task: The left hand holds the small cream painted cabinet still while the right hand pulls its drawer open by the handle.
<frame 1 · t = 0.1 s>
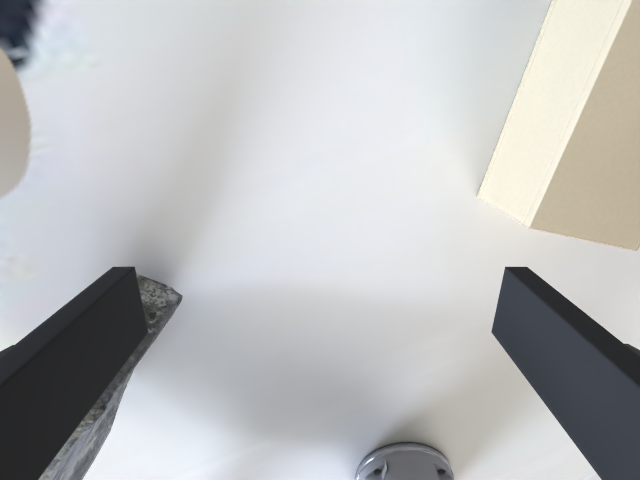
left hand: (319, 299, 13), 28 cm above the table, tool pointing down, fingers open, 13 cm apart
concrete block: (127, 341, 47), on the table
cabinet: (557, 114, 37), on the table
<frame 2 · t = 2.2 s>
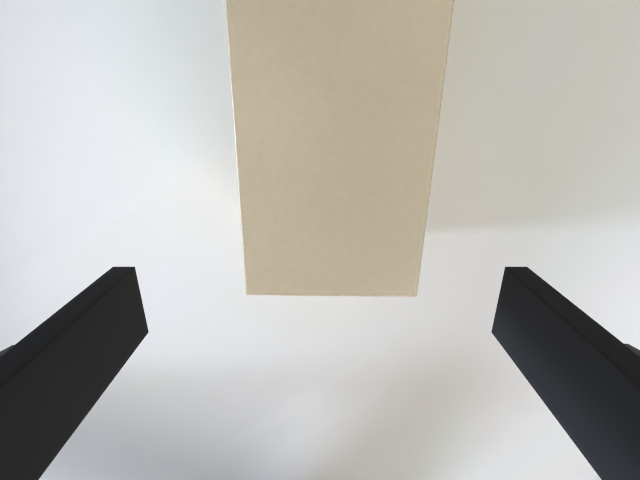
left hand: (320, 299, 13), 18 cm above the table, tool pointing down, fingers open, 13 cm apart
cabinet: (330, 111, 27), on the table
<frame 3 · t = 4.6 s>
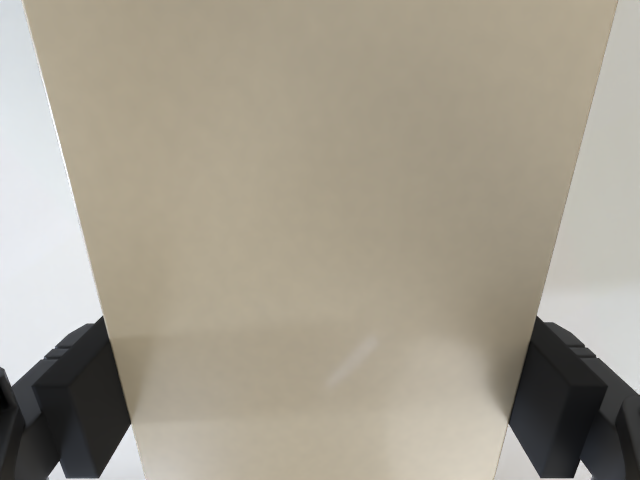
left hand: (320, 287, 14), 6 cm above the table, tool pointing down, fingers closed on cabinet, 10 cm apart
cabinet: (320, 117, 17), on the table, touching left hand
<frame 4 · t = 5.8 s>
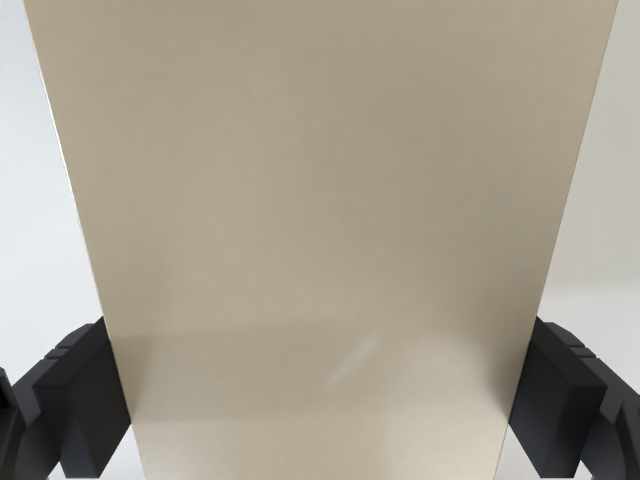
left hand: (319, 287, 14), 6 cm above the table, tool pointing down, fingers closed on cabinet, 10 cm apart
cabinet: (320, 117, 17), on the table, touching left hand
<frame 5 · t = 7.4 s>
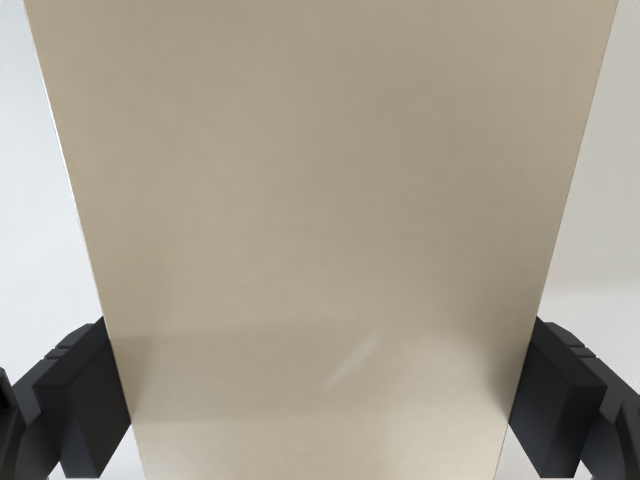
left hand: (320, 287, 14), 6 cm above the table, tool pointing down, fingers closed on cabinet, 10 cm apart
cabinet: (319, 117, 17), on the table, touching left hand
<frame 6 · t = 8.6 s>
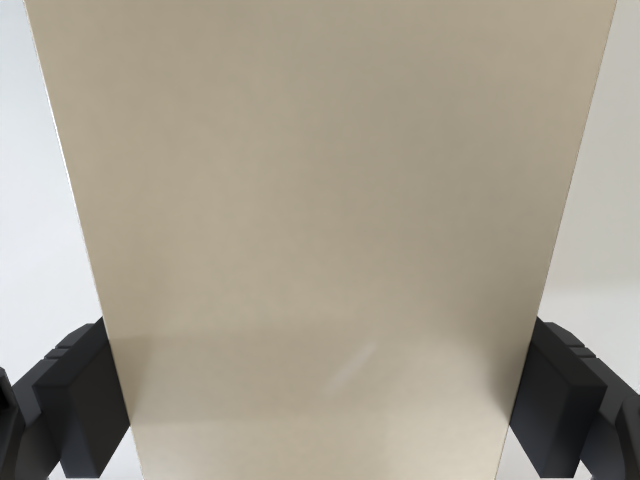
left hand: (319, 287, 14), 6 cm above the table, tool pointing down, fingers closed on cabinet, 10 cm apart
cabinet: (319, 118, 17), on the table, touching left hand
when the left hand's fingers open (6 cm above the table, at t = 10.3 s): cabinet stays where it is, on the table.
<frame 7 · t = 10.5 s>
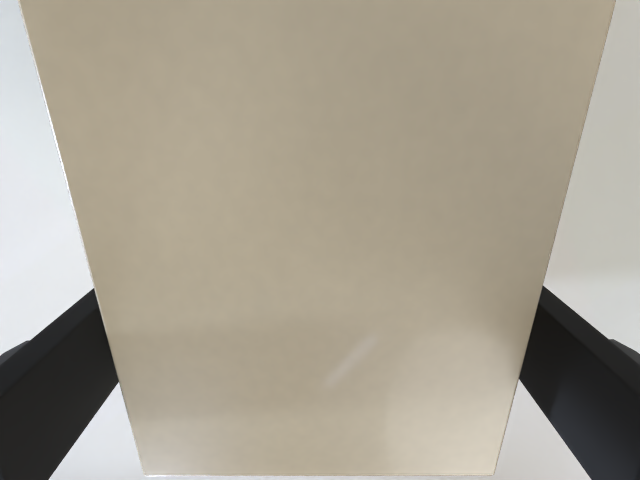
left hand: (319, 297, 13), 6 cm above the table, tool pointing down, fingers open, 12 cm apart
cabinet: (318, 100, 16), on the table
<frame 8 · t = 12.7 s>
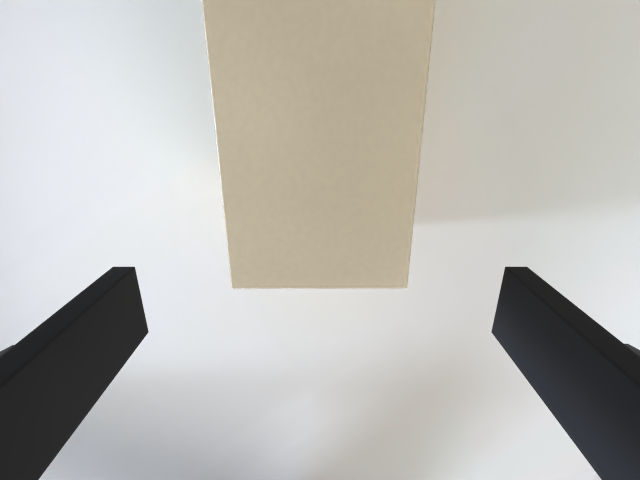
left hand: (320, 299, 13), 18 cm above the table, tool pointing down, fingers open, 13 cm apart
cabinet: (319, 101, 27), on the table
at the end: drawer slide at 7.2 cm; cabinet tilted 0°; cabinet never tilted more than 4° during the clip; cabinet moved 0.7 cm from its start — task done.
